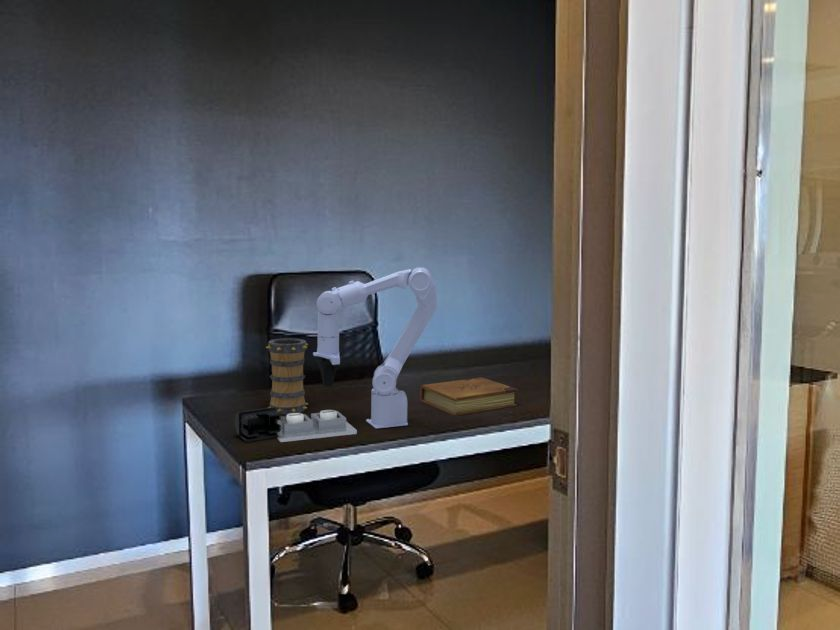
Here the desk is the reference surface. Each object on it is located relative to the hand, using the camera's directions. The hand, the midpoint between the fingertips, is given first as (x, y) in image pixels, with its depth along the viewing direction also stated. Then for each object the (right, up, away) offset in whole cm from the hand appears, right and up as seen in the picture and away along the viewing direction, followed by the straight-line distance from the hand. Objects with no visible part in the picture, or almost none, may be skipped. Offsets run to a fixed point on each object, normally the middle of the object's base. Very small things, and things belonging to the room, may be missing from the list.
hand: (327, 385), depth 199 cm
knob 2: (+1, -11, -4) cm, 11 cm away
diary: (+40, -8, +25) cm, 48 cm away
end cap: (-16, -12, -11) cm, 23 cm away
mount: (-4, -11, -6) cm, 13 cm away
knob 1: (-8, -11, -7) cm, 15 cm away
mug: (-15, -8, +17) cm, 24 cm away
